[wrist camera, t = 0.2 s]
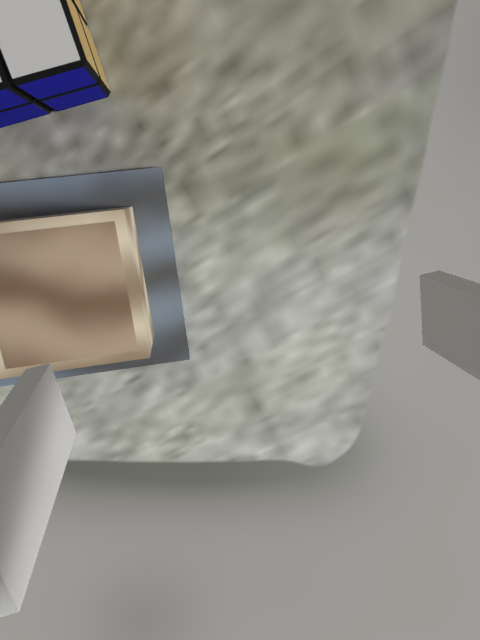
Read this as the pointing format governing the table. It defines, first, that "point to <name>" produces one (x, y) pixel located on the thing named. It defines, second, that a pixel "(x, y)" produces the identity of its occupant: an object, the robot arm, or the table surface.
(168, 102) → the table surface
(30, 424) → the robot arm
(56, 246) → the stacking base
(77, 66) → the puzzle cube
